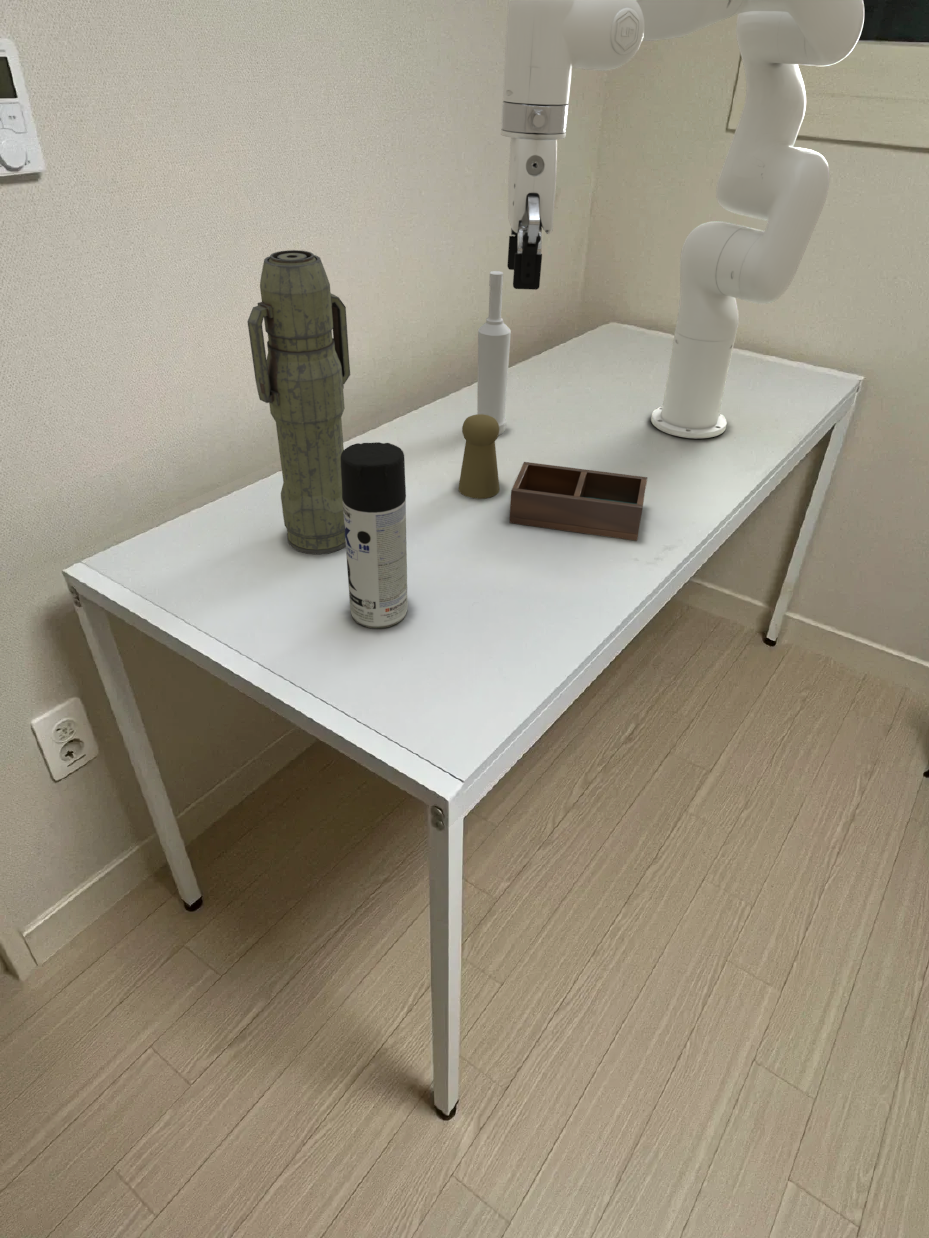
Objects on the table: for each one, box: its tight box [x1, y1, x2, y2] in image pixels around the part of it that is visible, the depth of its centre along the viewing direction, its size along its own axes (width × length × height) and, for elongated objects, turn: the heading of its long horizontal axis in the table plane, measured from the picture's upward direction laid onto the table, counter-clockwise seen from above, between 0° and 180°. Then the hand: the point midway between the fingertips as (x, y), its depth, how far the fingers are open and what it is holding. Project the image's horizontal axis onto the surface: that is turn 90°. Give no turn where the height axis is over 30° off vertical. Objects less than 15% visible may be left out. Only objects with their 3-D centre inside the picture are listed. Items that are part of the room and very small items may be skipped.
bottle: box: [476, 270, 512, 436], centre depth 131 cm, size 5×5×25 cm
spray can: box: [341, 441, 409, 629], centre depth 90 cm, size 7×7×20 cm
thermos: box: [247, 249, 351, 555], centre depth 99 cm, size 9×12×35 cm
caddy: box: [508, 461, 648, 541], centre depth 114 cm, size 9×17×5 cm, turn 76°
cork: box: [457, 414, 500, 500], centre depth 118 cm, size 6×6×11 cm
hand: (522, 278), depth 105 cm, fingers open, 9 cm apart
